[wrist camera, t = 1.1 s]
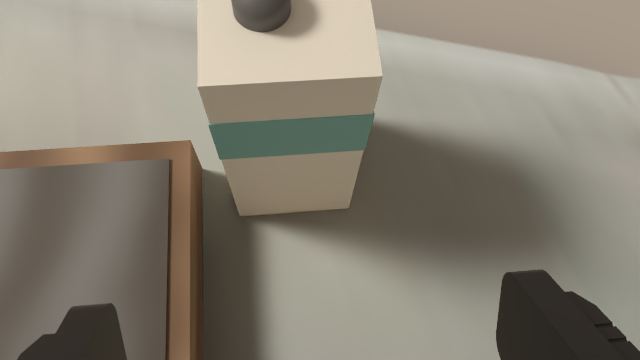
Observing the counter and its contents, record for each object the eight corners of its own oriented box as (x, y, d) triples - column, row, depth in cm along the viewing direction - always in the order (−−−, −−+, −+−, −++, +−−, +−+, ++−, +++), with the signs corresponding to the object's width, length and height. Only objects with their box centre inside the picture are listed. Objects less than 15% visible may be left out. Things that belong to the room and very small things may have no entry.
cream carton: (338, 112, 32) (365, -85, 19) (349, 209, 30) (389, 59, 17) (235, 118, 31) (190, -79, 18) (238, 217, 29) (190, 70, 16)
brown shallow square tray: (202, 168, 30) (189, 138, 27) (204, 492, 24) (188, 507, 21) (-96, 188, 29) (-148, 160, 26) (-172, 533, 23) (-253, 555, 20)
